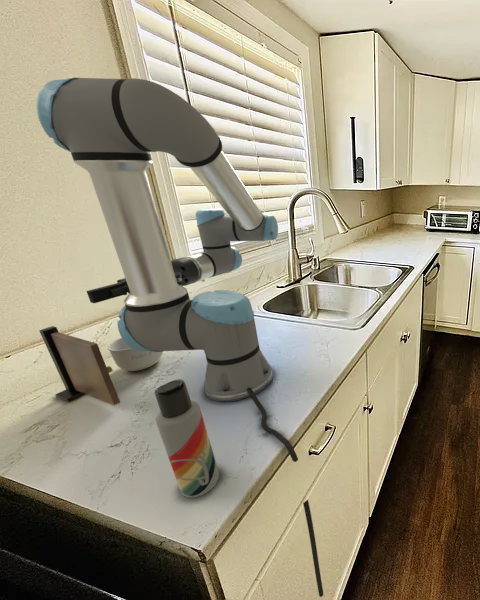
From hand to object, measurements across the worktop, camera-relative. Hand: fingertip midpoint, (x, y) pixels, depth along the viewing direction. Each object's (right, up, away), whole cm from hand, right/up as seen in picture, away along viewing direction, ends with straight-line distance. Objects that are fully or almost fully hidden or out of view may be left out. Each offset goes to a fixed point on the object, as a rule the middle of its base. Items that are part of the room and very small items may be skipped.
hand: (90, 297), depth 71 cm
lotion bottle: (+34, -32, -16) cm, 50 cm away
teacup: (-3, -14, +18) cm, 23 cm away
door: (-2, -23, +5) cm, 23 cm away
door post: (-10, -23, +8) cm, 26 cm away
